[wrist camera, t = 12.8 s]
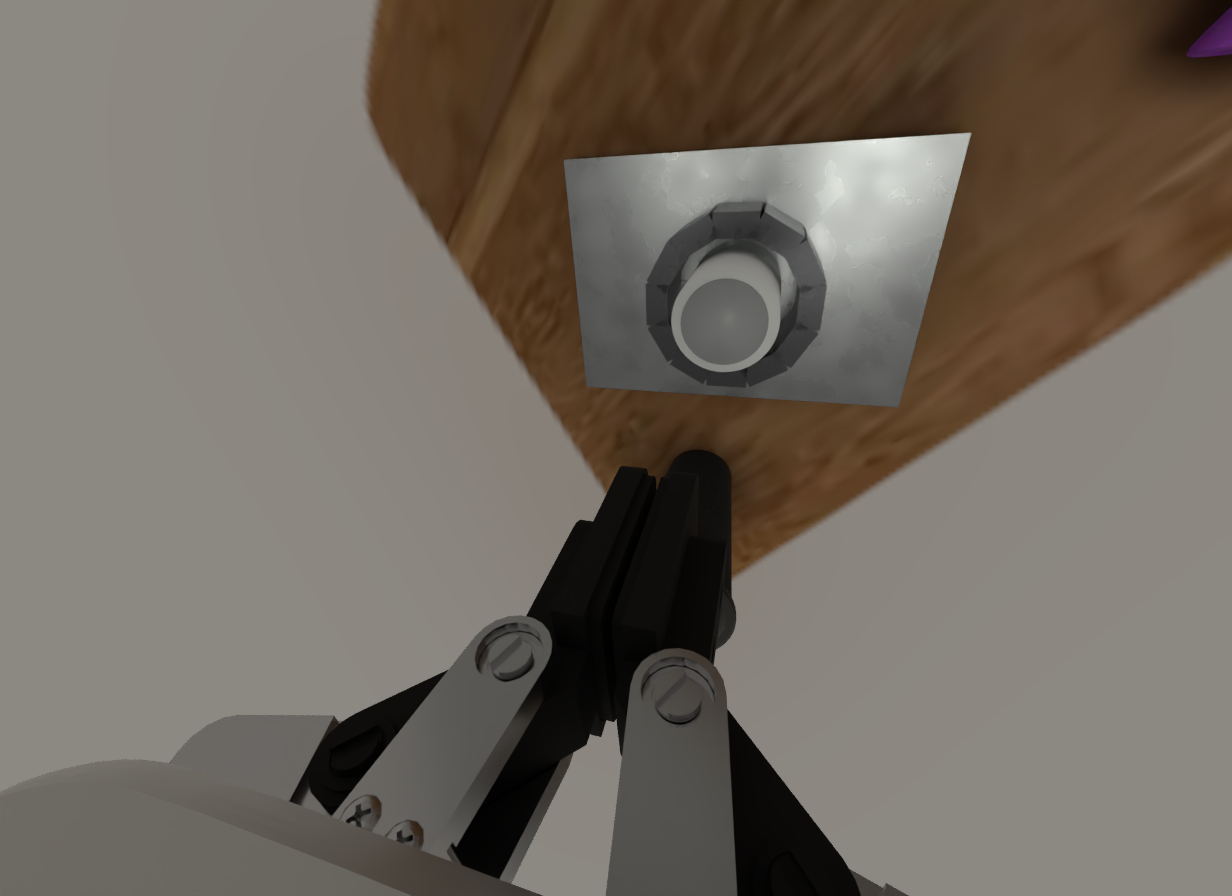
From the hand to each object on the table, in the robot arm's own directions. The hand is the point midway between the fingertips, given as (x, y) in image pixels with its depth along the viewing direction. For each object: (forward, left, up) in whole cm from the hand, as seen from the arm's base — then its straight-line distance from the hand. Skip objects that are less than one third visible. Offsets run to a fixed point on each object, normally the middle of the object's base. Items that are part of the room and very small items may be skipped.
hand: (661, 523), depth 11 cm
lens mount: (0, 0, -24) cm, 24 cm away
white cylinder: (0, 0, -22) cm, 22 cm away
